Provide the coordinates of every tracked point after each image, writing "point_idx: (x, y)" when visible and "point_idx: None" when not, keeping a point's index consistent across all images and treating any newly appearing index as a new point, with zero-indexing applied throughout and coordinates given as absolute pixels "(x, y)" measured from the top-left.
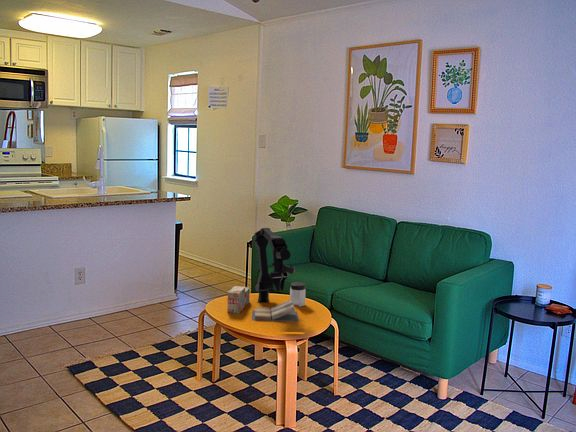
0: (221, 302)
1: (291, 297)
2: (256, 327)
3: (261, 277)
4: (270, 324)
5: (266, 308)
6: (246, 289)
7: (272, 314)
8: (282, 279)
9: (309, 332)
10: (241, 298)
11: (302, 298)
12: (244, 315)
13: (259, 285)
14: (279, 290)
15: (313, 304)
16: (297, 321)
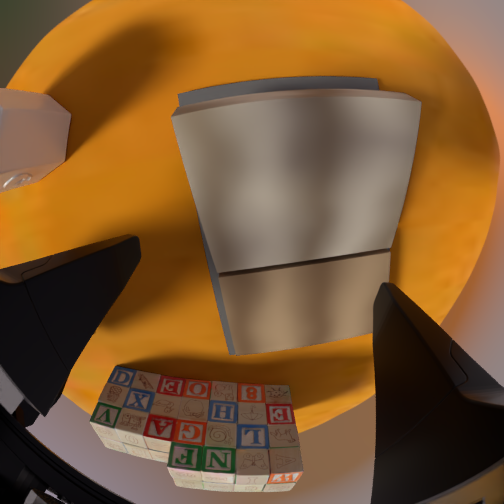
0: None
1: (30, 170)
2: (432, 291)
3: (28, 424)
4: (404, 236)
5: (241, 299)
6: (123, 434)
7: (366, 246)
8: (17, 328)
9: (457, 60)
10: (246, 437)
11: (31, 99)
12: (286, 367)
13: (59, 397)
14: (398, 288)
15: (35, 64)
16: (378, 87)
